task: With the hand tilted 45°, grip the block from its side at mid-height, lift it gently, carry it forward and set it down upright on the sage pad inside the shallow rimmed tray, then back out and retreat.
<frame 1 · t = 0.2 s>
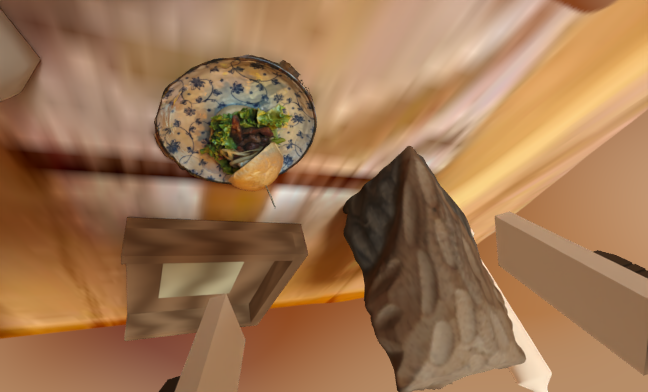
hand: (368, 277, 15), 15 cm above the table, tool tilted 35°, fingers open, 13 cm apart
owl: (397, 185, 37), on the table
shallow rimmed tray: (208, 270, 41), on the table
candle: (451, 237, 54), on the table
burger: (239, 118, 25), on the table
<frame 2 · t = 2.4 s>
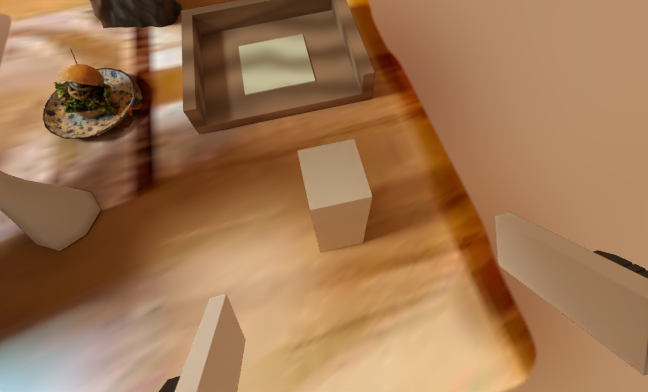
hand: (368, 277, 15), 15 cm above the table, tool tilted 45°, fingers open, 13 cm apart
owl: (143, 9, 50), on the table
shallow rimmed tray: (276, 65, 43), on the table
block: (335, 225, 32), on the table
flask: (69, 219, 34), on the table
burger: (101, 111, 41), on the table
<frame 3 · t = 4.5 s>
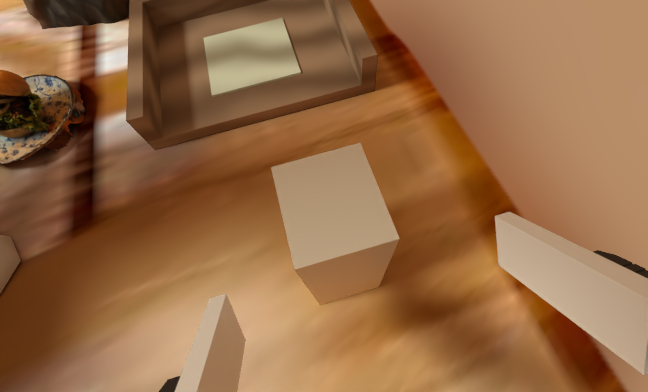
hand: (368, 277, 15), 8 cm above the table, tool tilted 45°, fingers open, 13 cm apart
owl: (91, 5, 42), on the table
shallow rimmed tray: (251, 58, 34), on the table
block: (339, 262, 23), on the table
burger: (33, 128, 33), on the table
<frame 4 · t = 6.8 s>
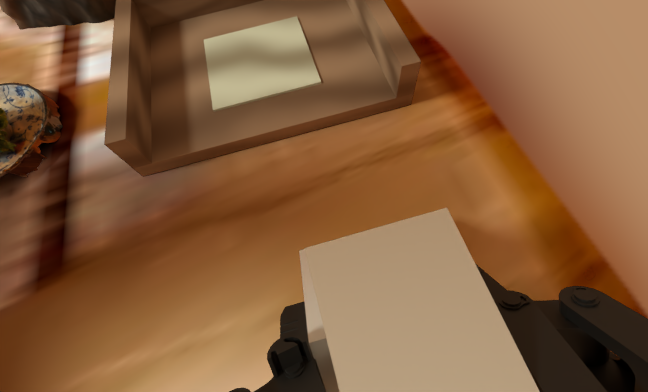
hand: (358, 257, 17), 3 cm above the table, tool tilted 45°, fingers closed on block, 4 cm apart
owl: (76, 2, 36), on the table
shallow rimmed tray: (260, 64, 29), on the table
block: (378, 334, 18), on the table, touching gripper
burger: (0, 147, 27), on the table
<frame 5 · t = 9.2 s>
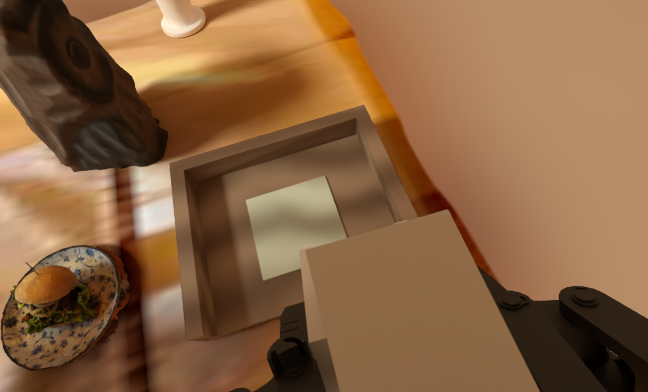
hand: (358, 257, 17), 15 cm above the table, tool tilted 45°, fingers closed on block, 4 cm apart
owl: (120, 140, 41), on the table
shallow rimmed tray: (295, 220, 34), on the table
block: (378, 335, 18), point 11 cm above the table, touching gripper
candle: (185, 24, 50), on the table
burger: (77, 304, 32), on the table
when the fingers open (6 cm above the table, at t = 12.0 s): block drops 1 cm, resting on shallow rimmed tray.
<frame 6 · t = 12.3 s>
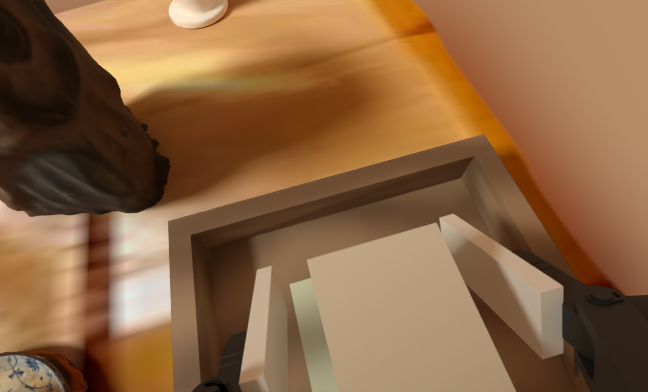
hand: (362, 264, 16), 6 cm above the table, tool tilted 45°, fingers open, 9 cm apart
owl: (102, 170, 28), on the table
shallow rimmed tray: (370, 321, 20), on the table
block: (376, 336, 19), point 1 cm above the table, touching shallow rimmed tray
candle: (200, 12, 38), on the table
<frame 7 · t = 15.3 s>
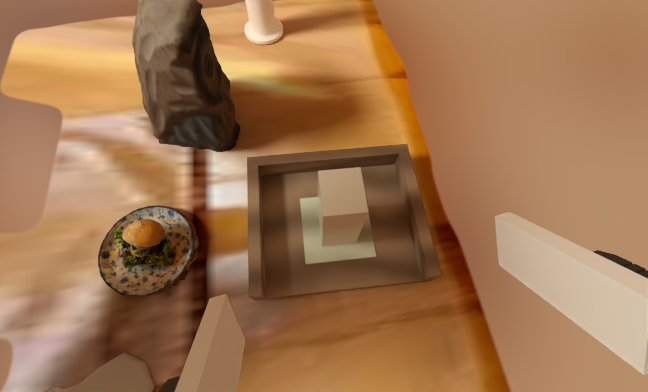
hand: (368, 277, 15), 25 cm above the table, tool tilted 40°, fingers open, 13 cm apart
owl: (200, 124, 49), on the table
shallow rimmed tray: (335, 222, 42), on the table
block: (336, 226, 41), point 1 cm above the table, touching shallow rimmed tray
candle: (264, 32, 58), on the table
flask: (121, 390, 34), on the table
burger: (154, 251, 41), on the table
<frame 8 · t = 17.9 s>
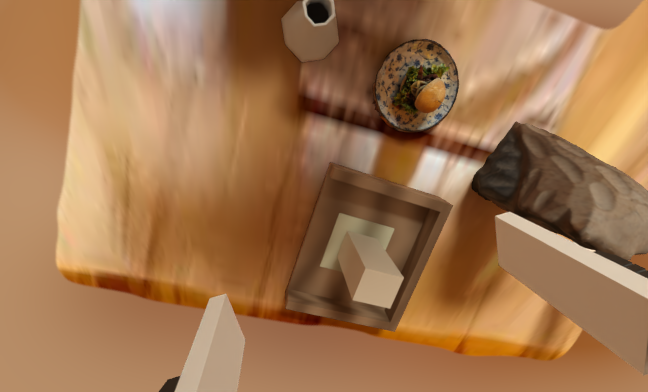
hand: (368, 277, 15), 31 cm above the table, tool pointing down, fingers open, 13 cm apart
owl: (512, 165, 48), on the table
shallow rimmed tray: (360, 245, 49), on the table
block: (357, 247, 47), point 1 cm above the table, touching shallow rimmed tray
flask: (310, 31, 39), on the table
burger: (411, 88, 43), on the table
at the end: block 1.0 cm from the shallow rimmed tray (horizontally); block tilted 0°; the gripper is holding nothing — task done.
